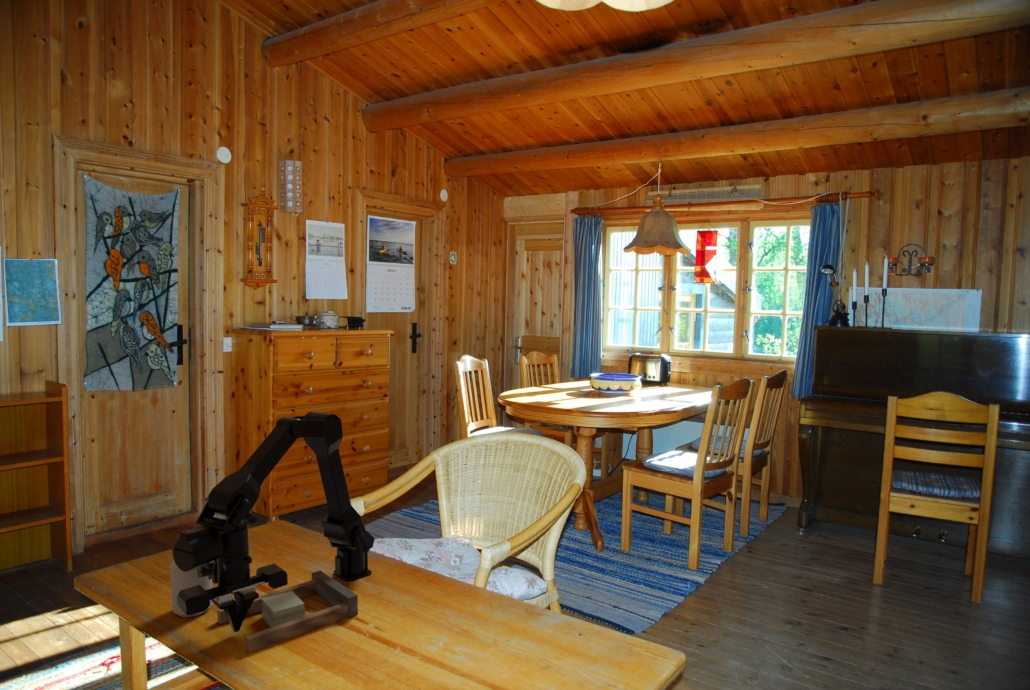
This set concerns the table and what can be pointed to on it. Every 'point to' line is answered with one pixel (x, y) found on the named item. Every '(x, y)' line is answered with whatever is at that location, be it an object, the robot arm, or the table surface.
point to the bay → (324, 587)
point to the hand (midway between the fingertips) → (236, 631)
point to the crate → (282, 608)
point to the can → (185, 586)
